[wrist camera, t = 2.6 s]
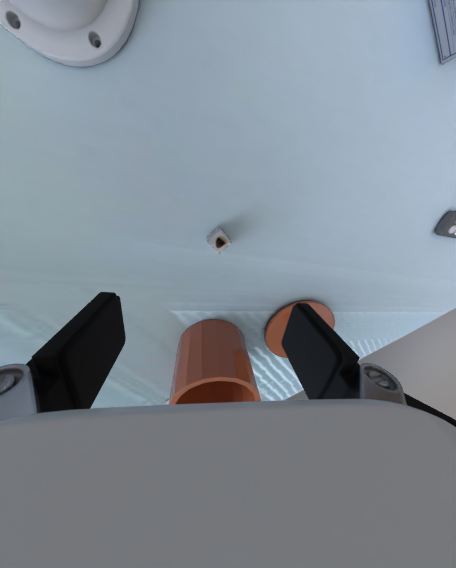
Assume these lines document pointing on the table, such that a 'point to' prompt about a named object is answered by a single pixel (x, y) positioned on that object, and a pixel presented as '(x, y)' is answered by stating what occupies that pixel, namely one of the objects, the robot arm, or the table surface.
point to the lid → (280, 322)
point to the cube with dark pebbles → (218, 240)
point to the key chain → (447, 225)
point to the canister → (213, 366)
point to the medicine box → (445, 27)
